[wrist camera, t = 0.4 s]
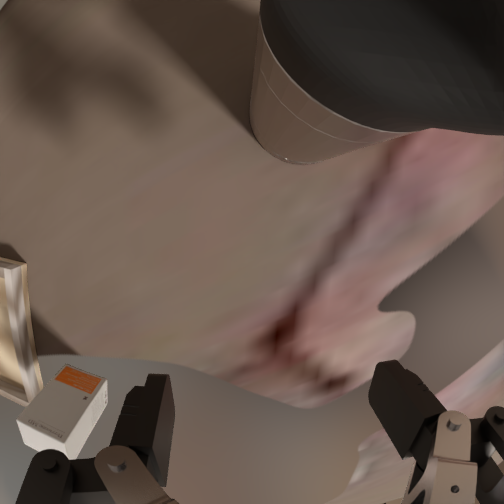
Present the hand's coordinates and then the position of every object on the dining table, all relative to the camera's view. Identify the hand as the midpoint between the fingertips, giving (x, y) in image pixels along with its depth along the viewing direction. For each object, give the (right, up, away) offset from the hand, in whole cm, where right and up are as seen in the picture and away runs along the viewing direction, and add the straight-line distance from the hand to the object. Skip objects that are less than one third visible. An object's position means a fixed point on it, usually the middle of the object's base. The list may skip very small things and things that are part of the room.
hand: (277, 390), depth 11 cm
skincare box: (-21, -11, +20) cm, 31 cm away
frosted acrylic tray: (-33, -5, +19) cm, 39 cm away
